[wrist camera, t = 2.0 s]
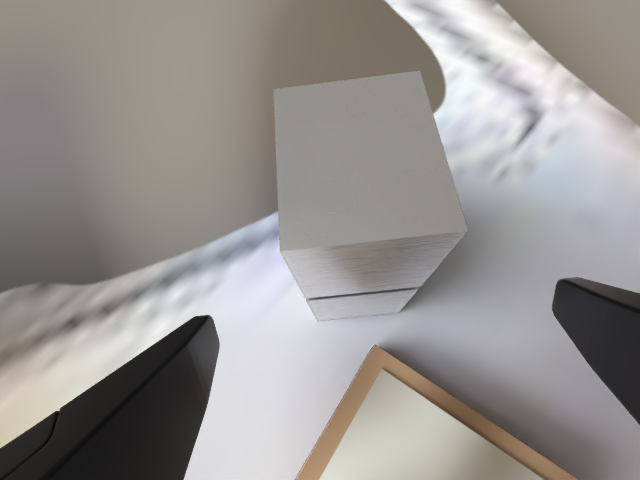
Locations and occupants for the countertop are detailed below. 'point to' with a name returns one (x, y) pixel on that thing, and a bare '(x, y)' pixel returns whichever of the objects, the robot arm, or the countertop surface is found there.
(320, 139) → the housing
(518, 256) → the countertop surface
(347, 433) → the stand
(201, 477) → the countertop surface
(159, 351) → the robot arm
